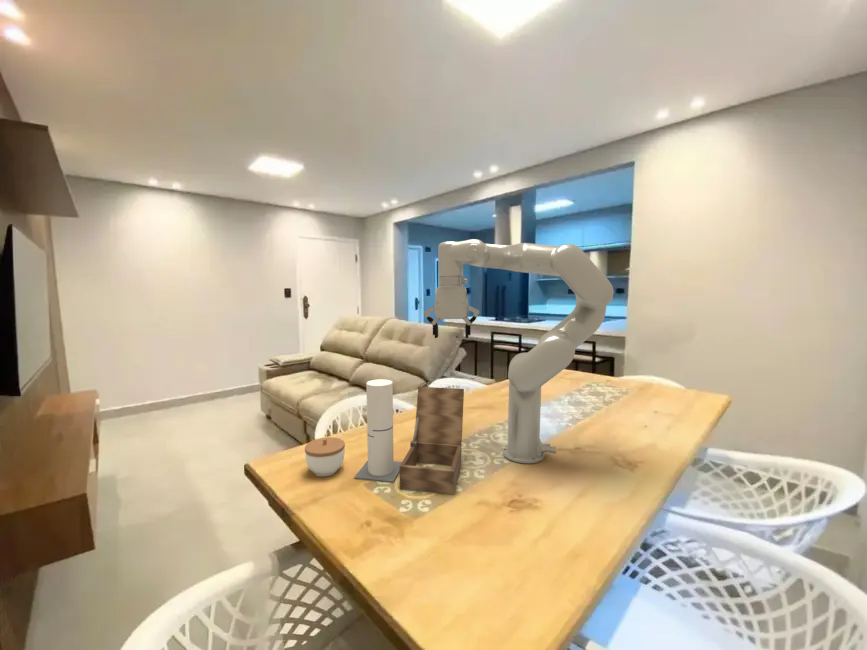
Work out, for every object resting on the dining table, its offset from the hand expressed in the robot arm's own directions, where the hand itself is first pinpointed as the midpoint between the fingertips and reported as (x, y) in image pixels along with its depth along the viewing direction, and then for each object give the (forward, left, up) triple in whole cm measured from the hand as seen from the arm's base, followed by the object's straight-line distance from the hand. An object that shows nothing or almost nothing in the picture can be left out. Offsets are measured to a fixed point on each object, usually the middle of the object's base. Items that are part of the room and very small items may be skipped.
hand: (451, 337), depth 116 cm
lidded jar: (+32, +22, -36) cm, 53 cm away
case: (+3, +16, -36) cm, 39 cm away
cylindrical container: (+17, +19, -36) cm, 44 cm away
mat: (+17, +19, -36) cm, 44 cm away
